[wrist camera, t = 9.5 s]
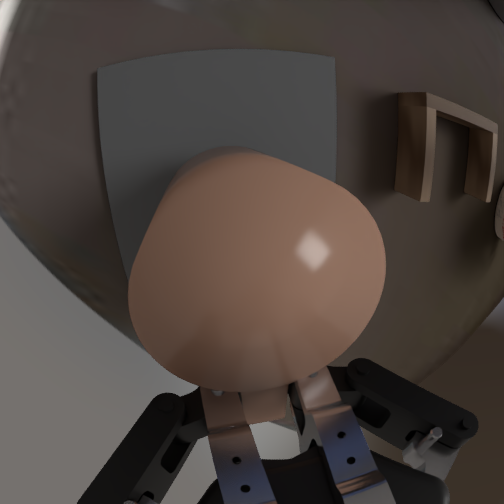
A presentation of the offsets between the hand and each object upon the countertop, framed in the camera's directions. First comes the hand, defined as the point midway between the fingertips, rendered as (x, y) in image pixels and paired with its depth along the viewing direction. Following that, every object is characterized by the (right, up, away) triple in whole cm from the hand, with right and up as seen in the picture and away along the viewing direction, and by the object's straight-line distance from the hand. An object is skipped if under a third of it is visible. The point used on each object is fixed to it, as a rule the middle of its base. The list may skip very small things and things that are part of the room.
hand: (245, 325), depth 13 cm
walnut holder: (+16, +12, +4) cm, 21 cm away
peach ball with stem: (-1, +4, +2) cm, 4 cm away
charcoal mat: (-1, +8, +3) cm, 8 cm away
